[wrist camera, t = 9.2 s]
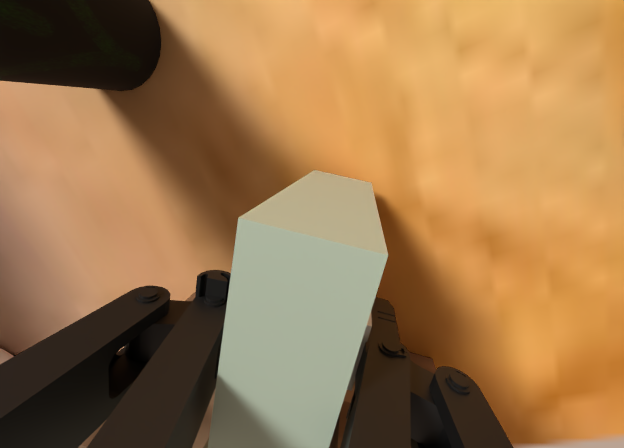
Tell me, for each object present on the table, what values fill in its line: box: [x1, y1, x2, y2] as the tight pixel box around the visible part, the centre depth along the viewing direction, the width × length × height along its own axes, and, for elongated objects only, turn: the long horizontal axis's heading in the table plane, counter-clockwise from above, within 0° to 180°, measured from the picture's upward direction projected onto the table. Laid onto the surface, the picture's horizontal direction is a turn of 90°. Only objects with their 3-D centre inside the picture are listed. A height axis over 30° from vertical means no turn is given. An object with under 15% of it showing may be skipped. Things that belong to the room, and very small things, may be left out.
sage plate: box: [208, 170, 388, 448], centre depth 13 cm, size 16×3×10 cm, turn 168°
